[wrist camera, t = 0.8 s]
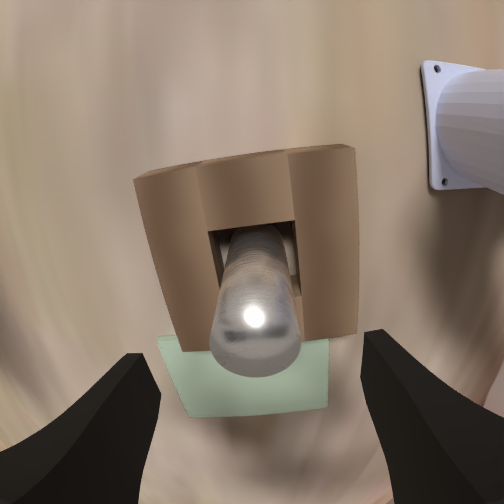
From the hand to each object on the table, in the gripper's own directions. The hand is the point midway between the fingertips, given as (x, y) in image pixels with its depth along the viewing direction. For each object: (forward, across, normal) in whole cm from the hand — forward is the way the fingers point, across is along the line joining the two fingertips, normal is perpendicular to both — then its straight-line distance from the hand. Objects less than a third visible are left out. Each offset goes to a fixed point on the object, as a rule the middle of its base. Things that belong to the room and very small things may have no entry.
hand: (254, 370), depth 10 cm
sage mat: (+10, +2, +10) cm, 15 cm away
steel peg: (+10, 0, 0) cm, 10 cm away
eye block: (+10, 0, 0) cm, 10 cm away
